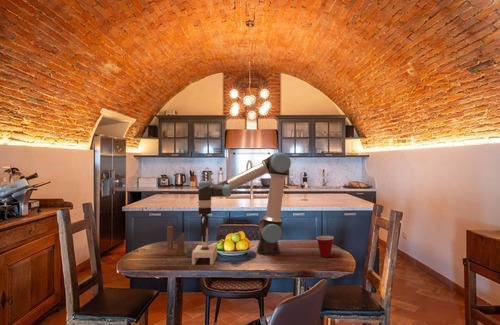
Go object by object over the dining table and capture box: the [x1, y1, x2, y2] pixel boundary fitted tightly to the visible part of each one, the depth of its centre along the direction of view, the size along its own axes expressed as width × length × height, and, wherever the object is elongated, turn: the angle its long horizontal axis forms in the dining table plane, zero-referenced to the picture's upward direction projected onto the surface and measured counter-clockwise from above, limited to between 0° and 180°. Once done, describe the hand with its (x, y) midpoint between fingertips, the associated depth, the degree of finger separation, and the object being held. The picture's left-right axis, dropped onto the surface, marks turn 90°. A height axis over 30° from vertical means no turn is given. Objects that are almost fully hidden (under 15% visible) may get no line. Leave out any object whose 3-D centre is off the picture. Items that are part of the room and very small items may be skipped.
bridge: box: [191, 244, 218, 266], centre depth 192 cm, size 12×16×7 cm
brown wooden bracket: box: [165, 225, 185, 257], centre depth 203 cm, size 4×11×18 cm, turn 85°
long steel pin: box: [202, 227, 209, 250], centre depth 192 cm, size 4×4×14 cm
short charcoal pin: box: [186, 244, 194, 258], centre depth 200 cm, size 4×4×7 cm
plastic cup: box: [315, 235, 334, 258], centre depth 199 cm, size 11×11×12 cm
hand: (205, 245), depth 192 cm, fingers closed on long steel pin, 3 cm apart
